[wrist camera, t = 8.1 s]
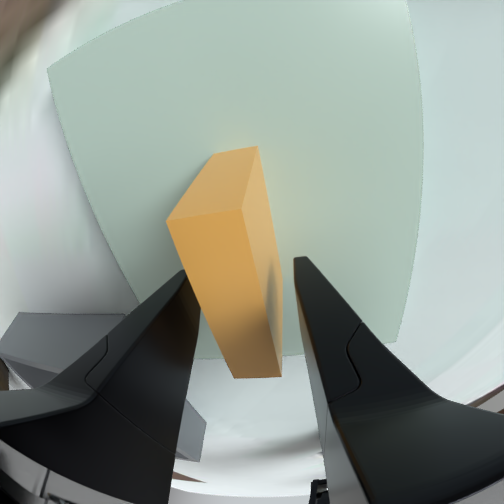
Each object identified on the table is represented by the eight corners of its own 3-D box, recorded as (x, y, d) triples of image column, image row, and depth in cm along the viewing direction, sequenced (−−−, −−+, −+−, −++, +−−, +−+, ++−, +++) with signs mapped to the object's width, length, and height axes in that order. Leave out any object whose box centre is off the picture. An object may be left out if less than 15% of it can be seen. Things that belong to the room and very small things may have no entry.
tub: (206, 422, 27) (199, 462, 23) (108, 408, 30) (97, 439, 26) (124, 314, 18) (95, 375, 13) (19, 312, 20) (-6, 350, 16)
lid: (388, 317, 17) (414, 415, 11) (181, 335, 19) (154, 425, 13) (382, -7, 7) (478, -57, 1) (73, 65, 9) (-46, 93, 4)
